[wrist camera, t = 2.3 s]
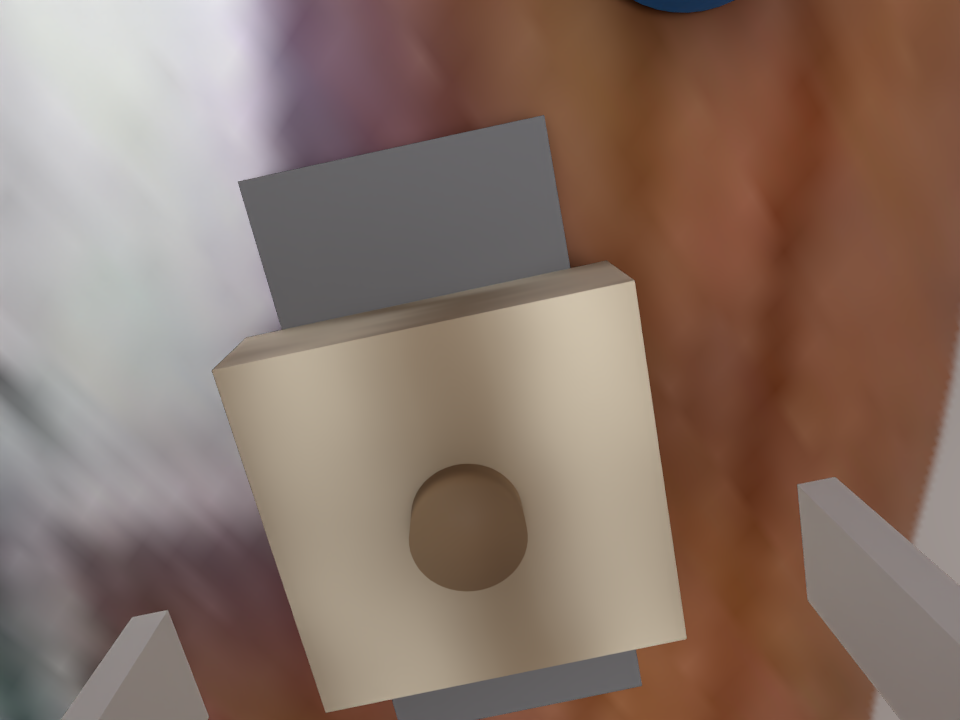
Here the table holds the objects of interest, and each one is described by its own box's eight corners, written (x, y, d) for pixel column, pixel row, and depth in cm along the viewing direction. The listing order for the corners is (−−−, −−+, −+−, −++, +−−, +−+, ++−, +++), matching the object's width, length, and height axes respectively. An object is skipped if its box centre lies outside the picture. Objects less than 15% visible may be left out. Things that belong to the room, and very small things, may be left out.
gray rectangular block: (406, 680, 26) (402, 734, 24) (261, 177, 21) (238, 181, 18) (623, 635, 26) (641, 685, 24) (532, 118, 21) (544, 115, 18)
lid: (341, 640, 22) (318, 748, 18) (246, 337, 20) (194, 387, 16) (655, 575, 22) (702, 669, 18) (606, 260, 19) (648, 290, 15)
